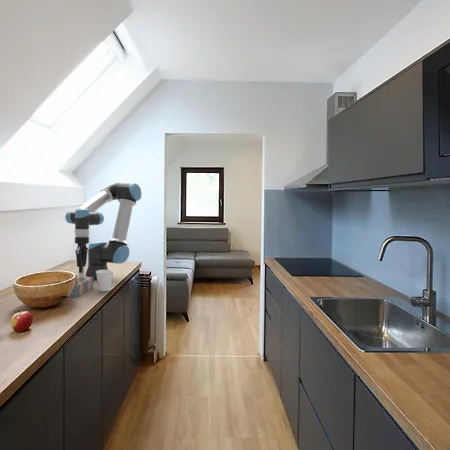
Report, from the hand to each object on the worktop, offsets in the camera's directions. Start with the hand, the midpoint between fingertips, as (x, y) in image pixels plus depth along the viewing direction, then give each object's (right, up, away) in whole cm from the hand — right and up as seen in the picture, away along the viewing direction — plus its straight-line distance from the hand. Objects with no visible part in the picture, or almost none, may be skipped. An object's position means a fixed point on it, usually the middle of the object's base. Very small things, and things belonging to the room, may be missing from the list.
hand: (81, 277), depth 228 cm
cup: (+13, -7, -1) cm, 15 cm away
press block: (0, -7, -5) cm, 9 cm away
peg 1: (0, -3, -12) cm, 12 cm away
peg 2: (0, -6, 0) cm, 6 cm away
